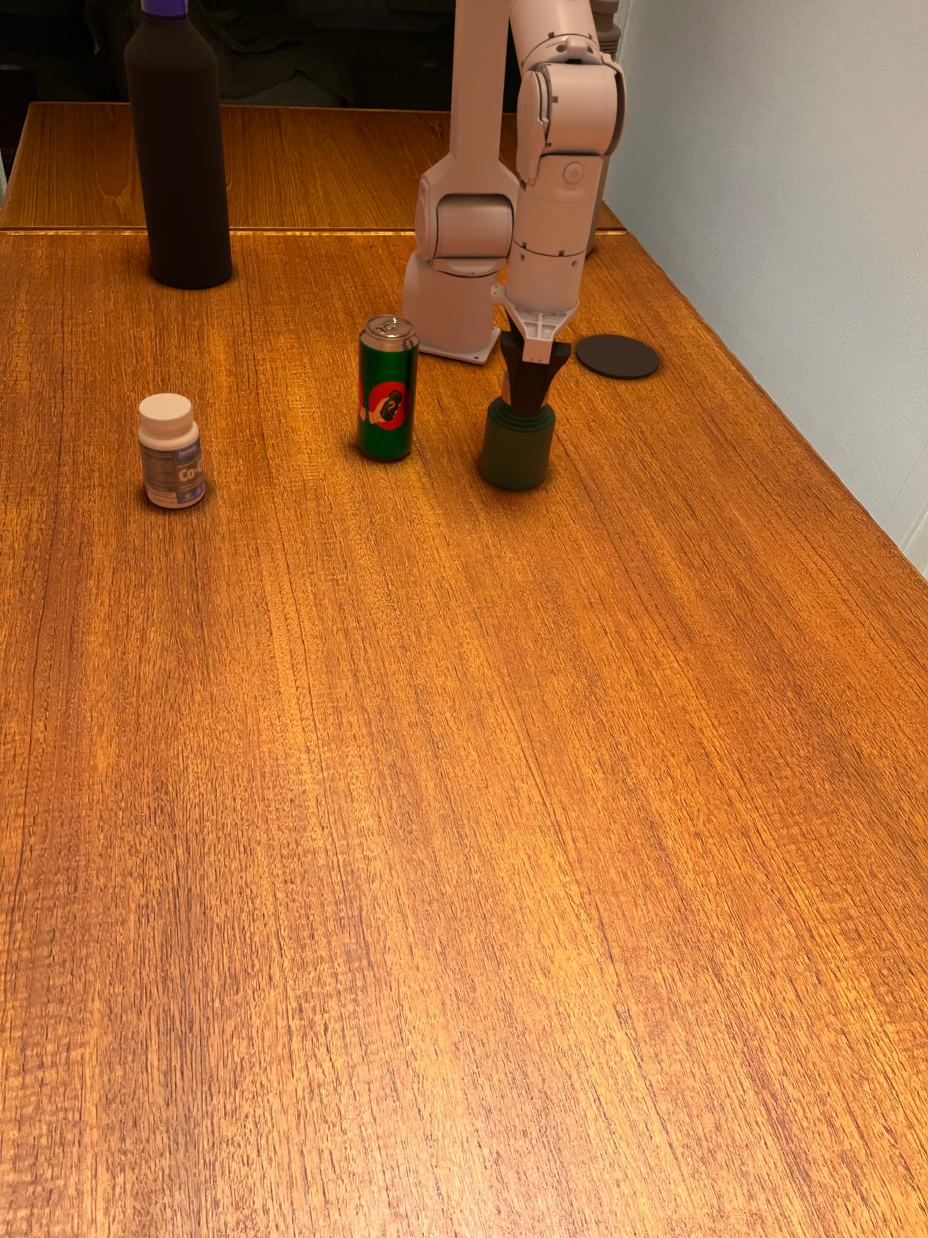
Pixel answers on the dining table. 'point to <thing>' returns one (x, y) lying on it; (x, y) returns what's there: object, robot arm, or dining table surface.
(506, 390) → the cap
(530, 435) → the green bottle
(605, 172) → the water bottle
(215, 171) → the bottle
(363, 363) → the soda can
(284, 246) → the dining table surface
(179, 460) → the pill bottle
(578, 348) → the coaster
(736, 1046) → the dining table surface
